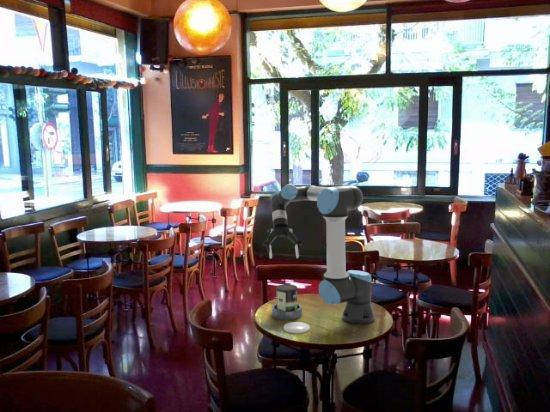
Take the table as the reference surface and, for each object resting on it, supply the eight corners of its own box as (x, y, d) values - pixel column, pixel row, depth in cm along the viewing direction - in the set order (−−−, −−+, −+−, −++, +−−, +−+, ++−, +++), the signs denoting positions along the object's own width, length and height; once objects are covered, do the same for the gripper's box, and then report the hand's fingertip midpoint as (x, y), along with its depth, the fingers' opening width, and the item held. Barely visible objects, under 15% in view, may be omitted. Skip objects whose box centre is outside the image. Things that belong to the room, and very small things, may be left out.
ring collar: (305, 311, 265) (305, 304, 264) (295, 321, 252) (295, 313, 251) (279, 308, 270) (279, 300, 270) (267, 317, 257) (267, 309, 257)
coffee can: (298, 311, 265) (298, 284, 263) (295, 319, 255) (295, 290, 253) (278, 310, 267) (278, 283, 265) (274, 317, 257) (274, 289, 255)
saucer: (313, 325, 246) (313, 324, 246) (304, 335, 235) (304, 333, 235) (289, 322, 251) (289, 320, 251) (279, 331, 240) (279, 329, 240)
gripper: (301, 223, 280) (307, 260, 270) (255, 224, 276) (258, 261, 265) (304, 216, 274) (310, 253, 263) (257, 216, 269) (260, 254, 259)
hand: (284, 257), depth 264 cm, fingers open, 13 cm apart
